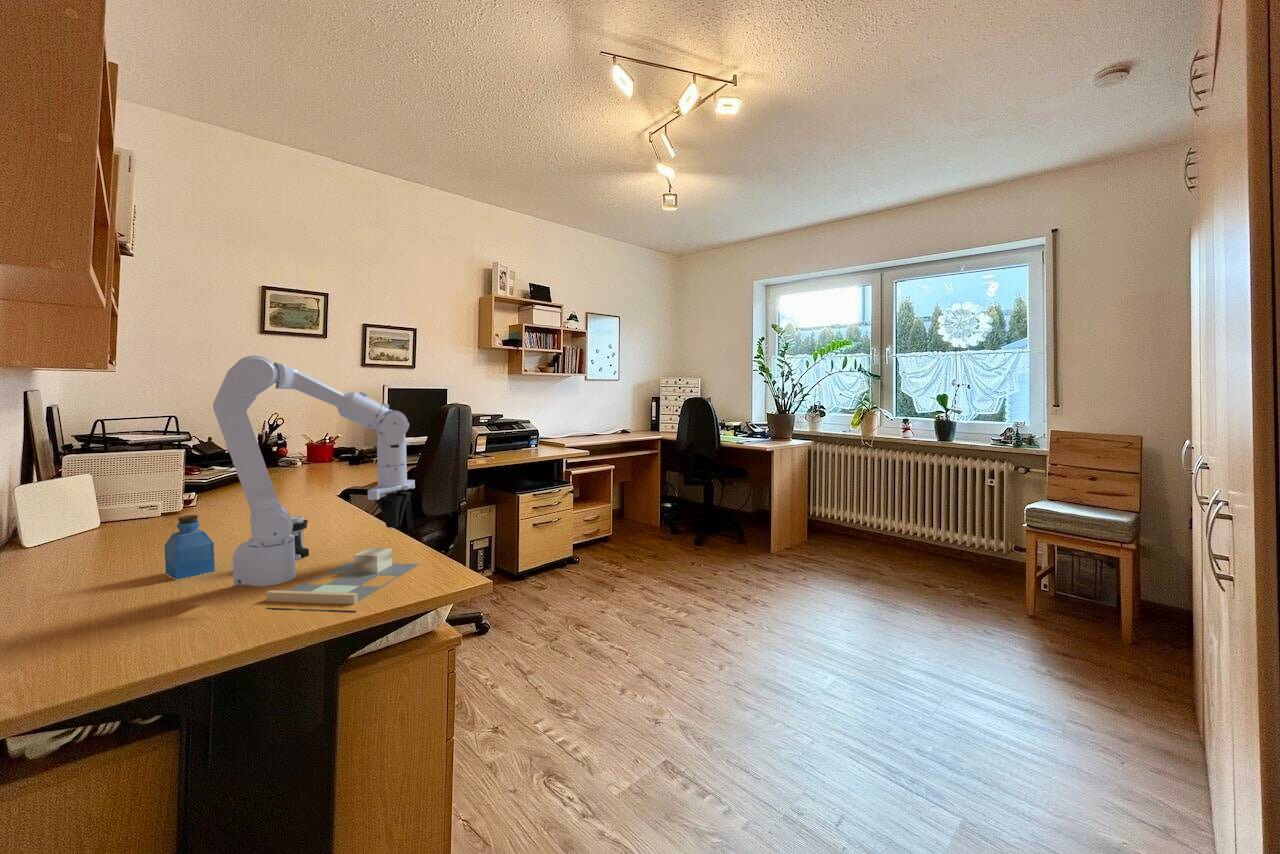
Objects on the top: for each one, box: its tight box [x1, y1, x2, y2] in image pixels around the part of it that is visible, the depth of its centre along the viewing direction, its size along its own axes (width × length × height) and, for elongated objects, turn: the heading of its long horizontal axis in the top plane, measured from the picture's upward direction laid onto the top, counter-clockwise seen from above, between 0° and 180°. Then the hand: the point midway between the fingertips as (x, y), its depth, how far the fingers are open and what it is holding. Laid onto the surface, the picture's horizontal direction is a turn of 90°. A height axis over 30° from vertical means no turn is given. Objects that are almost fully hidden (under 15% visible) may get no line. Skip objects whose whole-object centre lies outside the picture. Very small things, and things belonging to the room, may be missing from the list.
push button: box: [290, 515, 310, 562], centre depth 110 cm, size 7×5×10 cm
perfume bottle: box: [164, 514, 216, 580], centre depth 104 cm, size 6×6×12 cm
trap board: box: [265, 561, 420, 614], centre depth 95 cm, size 16×21×3 cm
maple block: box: [353, 547, 393, 573], centre depth 102 cm, size 5×5×4 cm
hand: (393, 526), depth 109 cm, fingers closed
